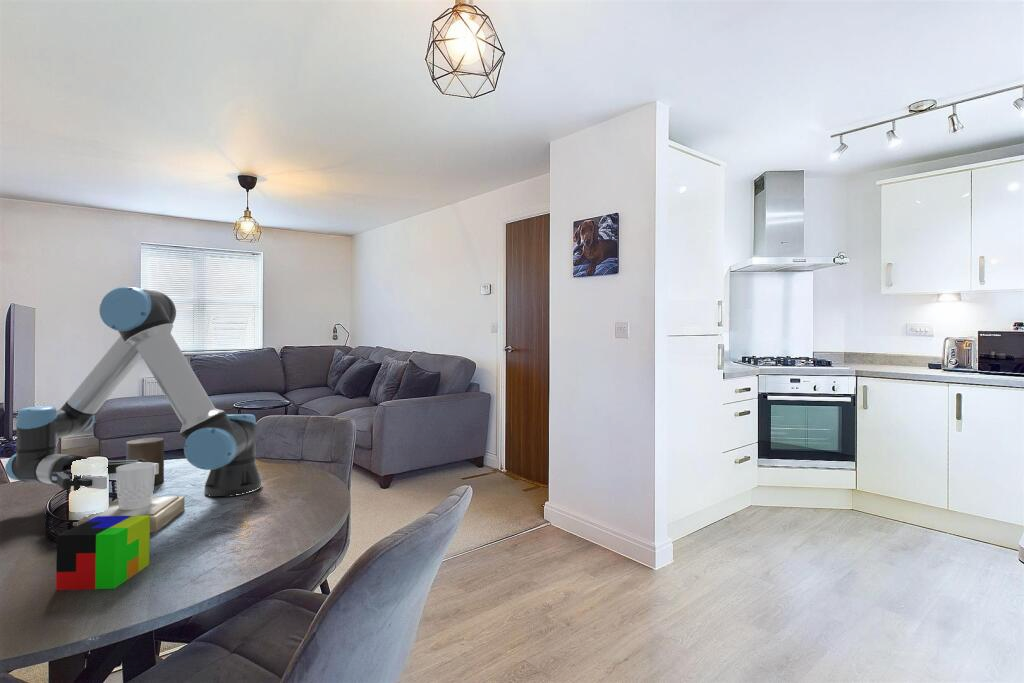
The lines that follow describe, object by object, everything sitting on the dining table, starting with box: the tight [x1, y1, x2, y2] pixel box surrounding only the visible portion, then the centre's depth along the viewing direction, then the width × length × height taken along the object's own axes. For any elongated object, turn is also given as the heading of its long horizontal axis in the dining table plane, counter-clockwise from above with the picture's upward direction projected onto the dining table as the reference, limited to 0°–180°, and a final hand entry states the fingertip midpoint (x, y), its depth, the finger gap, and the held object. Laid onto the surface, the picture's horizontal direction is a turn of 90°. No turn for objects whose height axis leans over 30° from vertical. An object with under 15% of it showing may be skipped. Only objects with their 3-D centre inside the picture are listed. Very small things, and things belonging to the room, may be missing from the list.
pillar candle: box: [125, 435, 165, 486], centre depth 158 cm, size 10×10×15 cm
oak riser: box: [77, 495, 186, 533], centre depth 125 cm, size 16×16×4 cm
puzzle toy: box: [55, 516, 151, 591], centre depth 97 cm, size 10×10×10 cm
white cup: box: [115, 462, 155, 510], centre depth 125 cm, size 8×8×10 cm
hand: (133, 475), depth 125 cm, fingers open, 13 cm apart
